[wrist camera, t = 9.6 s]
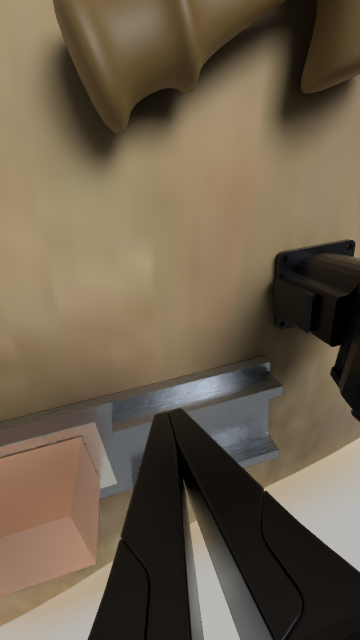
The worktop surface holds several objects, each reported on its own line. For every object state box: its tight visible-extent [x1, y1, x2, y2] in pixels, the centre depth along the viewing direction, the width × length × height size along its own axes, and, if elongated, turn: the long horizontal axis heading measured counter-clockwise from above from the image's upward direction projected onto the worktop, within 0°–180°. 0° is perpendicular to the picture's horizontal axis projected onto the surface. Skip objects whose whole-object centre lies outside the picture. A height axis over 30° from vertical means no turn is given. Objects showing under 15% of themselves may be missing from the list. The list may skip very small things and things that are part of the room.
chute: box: [0, 356, 283, 499], centre depth 23 cm, size 26×11×3 cm, turn 98°
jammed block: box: [0, 437, 100, 597], centre depth 19 cm, size 8×6×6 cm
